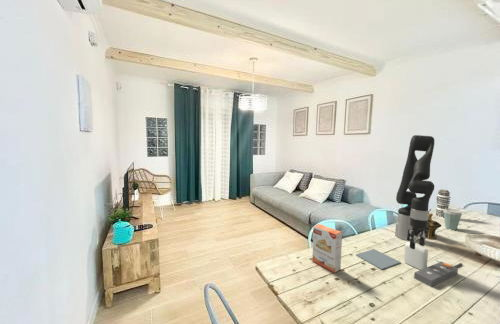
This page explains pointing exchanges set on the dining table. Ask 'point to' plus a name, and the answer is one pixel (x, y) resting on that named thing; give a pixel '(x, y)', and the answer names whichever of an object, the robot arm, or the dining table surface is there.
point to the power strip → (436, 273)
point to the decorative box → (432, 227)
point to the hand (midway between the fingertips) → (416, 247)
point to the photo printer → (416, 256)
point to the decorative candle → (442, 202)
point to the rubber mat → (378, 259)
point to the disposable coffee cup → (451, 218)
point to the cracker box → (327, 247)
